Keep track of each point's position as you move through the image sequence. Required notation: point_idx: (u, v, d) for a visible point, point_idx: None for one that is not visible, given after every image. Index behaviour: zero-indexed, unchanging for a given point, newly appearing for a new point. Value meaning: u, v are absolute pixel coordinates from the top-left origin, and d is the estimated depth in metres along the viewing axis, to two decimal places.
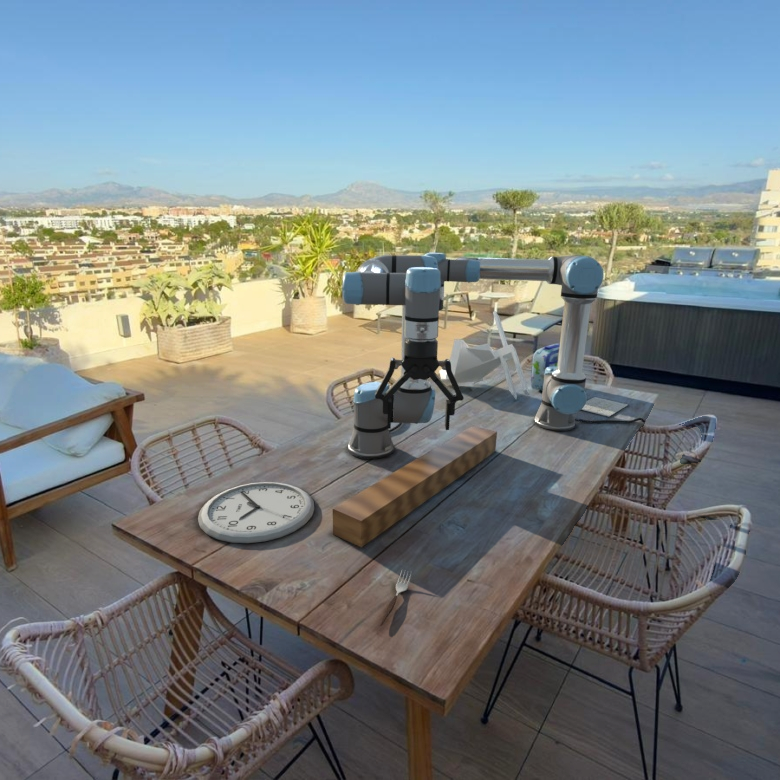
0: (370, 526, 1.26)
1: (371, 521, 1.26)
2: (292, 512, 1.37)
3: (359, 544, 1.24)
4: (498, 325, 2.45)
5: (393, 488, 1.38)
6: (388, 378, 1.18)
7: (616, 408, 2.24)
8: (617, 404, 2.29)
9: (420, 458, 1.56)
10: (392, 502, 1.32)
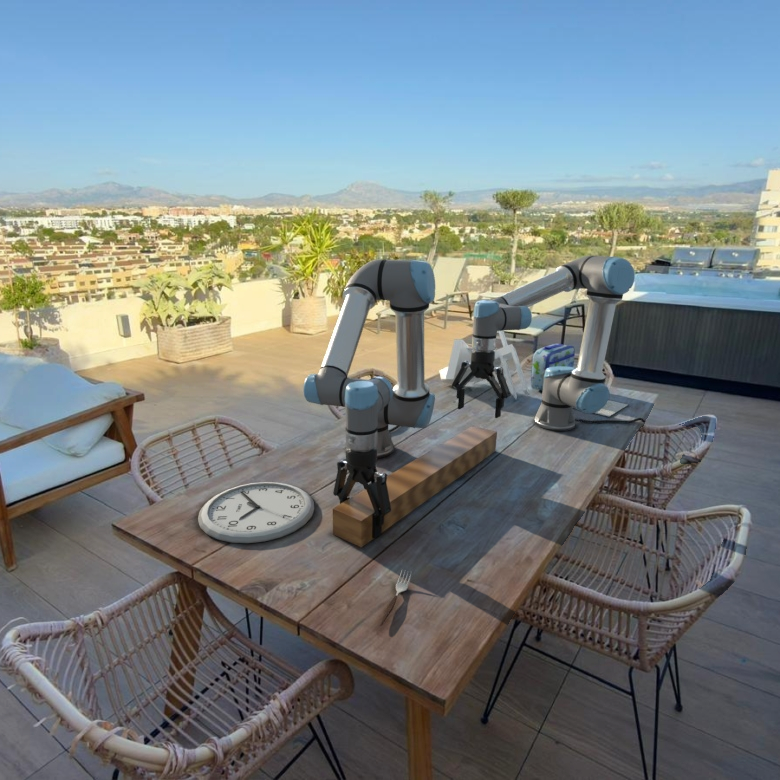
0: (370, 526, 1.26)
1: (371, 521, 1.26)
2: (292, 512, 1.37)
3: (359, 544, 1.24)
4: None
5: (393, 488, 1.38)
6: (338, 478, 1.30)
7: (616, 408, 2.24)
8: (617, 404, 2.29)
9: (420, 458, 1.56)
10: (392, 502, 1.32)
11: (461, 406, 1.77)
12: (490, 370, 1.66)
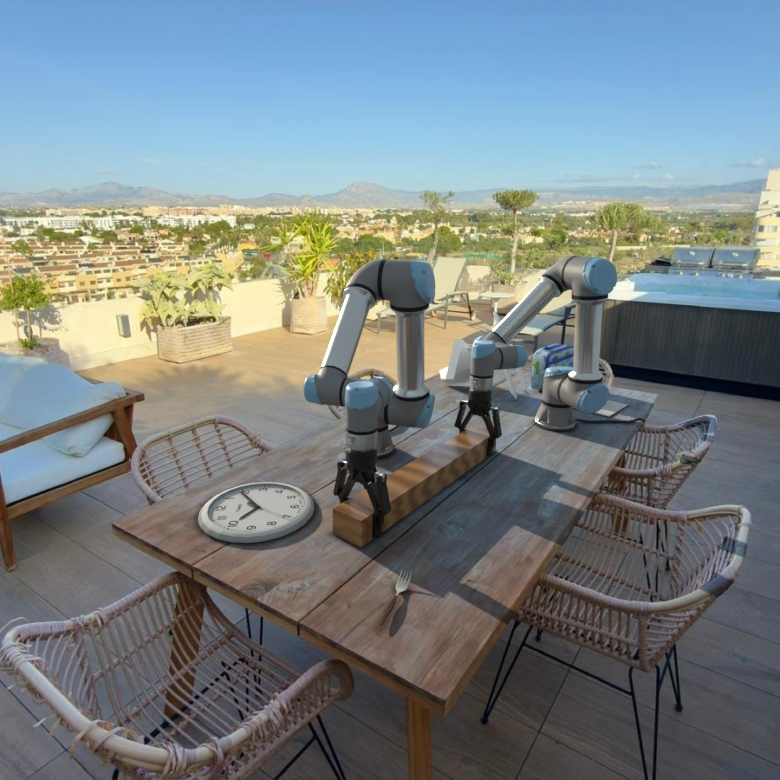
0: (370, 526, 1.26)
1: (371, 521, 1.26)
2: (292, 512, 1.37)
3: (359, 544, 1.24)
4: None
5: (393, 488, 1.38)
6: (338, 478, 1.30)
7: (616, 408, 2.24)
8: (617, 404, 2.29)
9: (420, 458, 1.56)
10: (392, 502, 1.32)
11: None
12: (487, 408, 1.70)
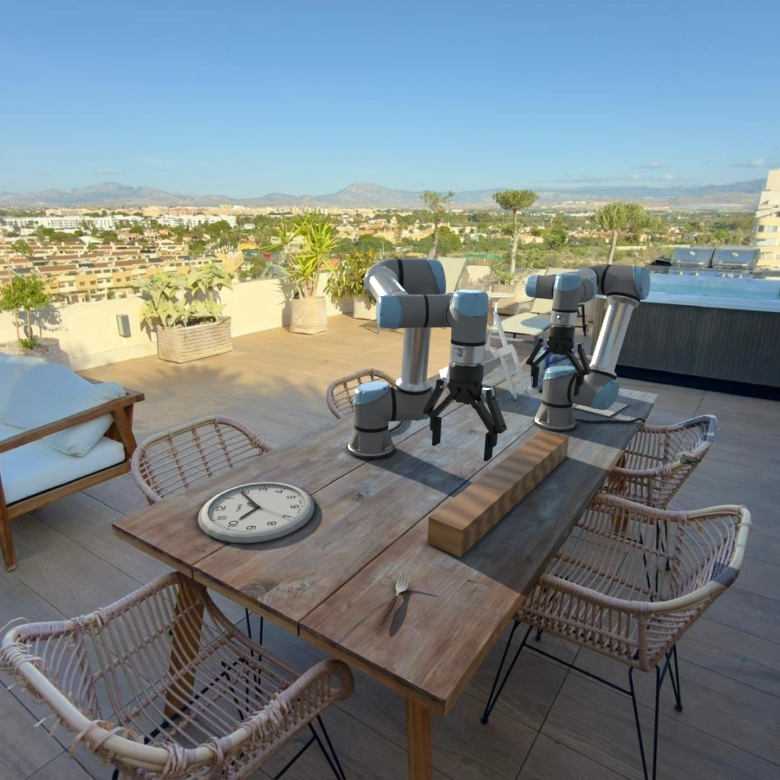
0: (468, 535, 1.23)
1: (470, 530, 1.23)
2: (292, 512, 1.37)
3: (458, 554, 1.21)
4: (498, 325, 2.45)
5: (483, 495, 1.35)
6: (434, 396, 1.20)
7: (616, 408, 2.24)
8: (617, 404, 2.29)
9: (500, 464, 1.52)
10: (486, 511, 1.29)
11: (535, 385, 1.70)
12: (570, 346, 1.60)
